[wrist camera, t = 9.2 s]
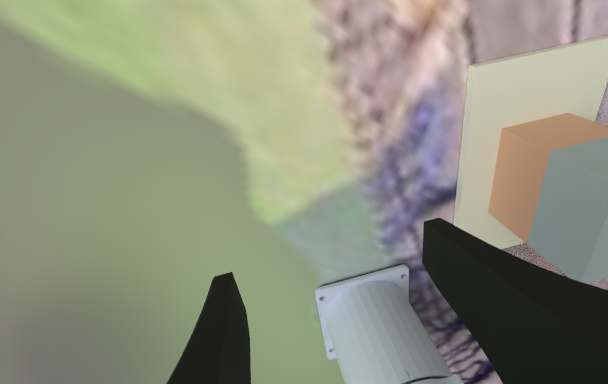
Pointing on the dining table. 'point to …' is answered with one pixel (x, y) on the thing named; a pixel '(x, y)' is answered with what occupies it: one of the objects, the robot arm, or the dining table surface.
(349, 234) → the dining table surface
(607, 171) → the slate brick
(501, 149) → the terracotta brick
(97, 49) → the dining table surface
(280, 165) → the dining table surface
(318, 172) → the dining table surface
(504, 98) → the baseboard
